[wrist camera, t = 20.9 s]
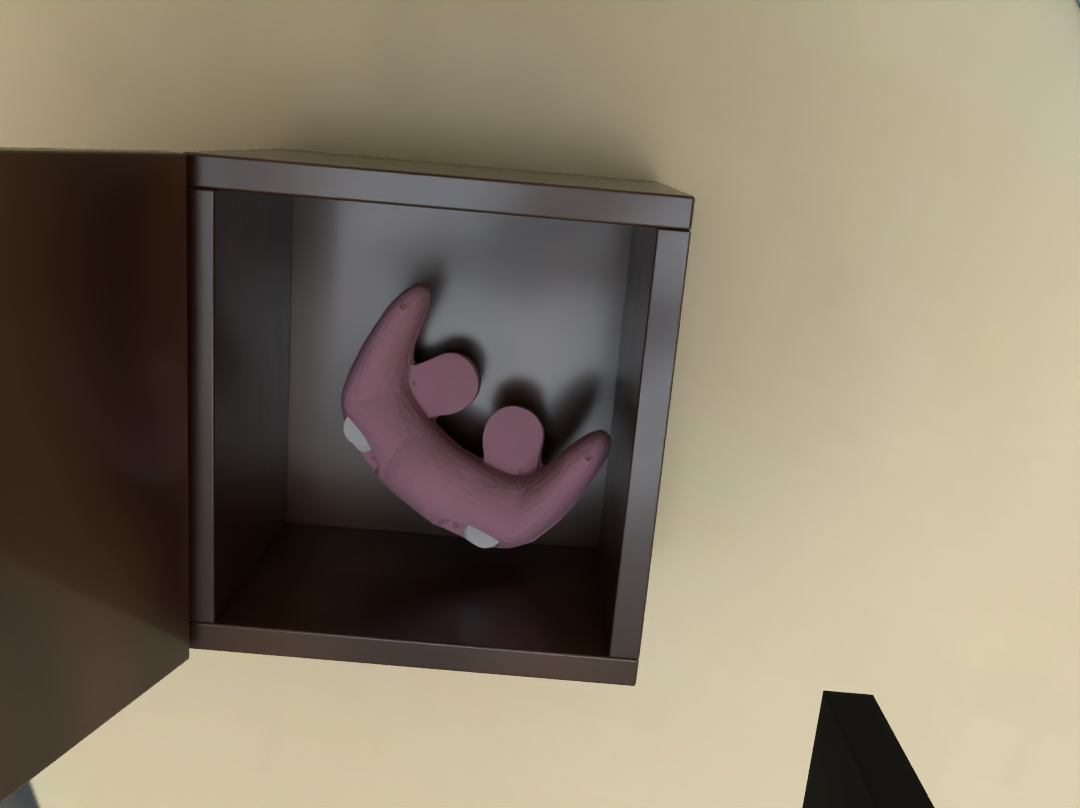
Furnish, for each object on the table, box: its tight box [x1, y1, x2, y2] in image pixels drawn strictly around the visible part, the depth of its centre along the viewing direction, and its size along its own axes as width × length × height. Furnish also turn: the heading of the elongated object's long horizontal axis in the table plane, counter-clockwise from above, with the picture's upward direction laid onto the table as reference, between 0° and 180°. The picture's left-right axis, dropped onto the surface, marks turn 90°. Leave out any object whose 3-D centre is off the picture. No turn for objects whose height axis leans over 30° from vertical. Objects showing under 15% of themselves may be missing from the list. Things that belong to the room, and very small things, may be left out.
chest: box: [183, 149, 695, 686], centre depth 36 cm, size 15×16×10 cm
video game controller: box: [341, 284, 611, 548], centre depth 37 cm, size 10×5×7 cm
